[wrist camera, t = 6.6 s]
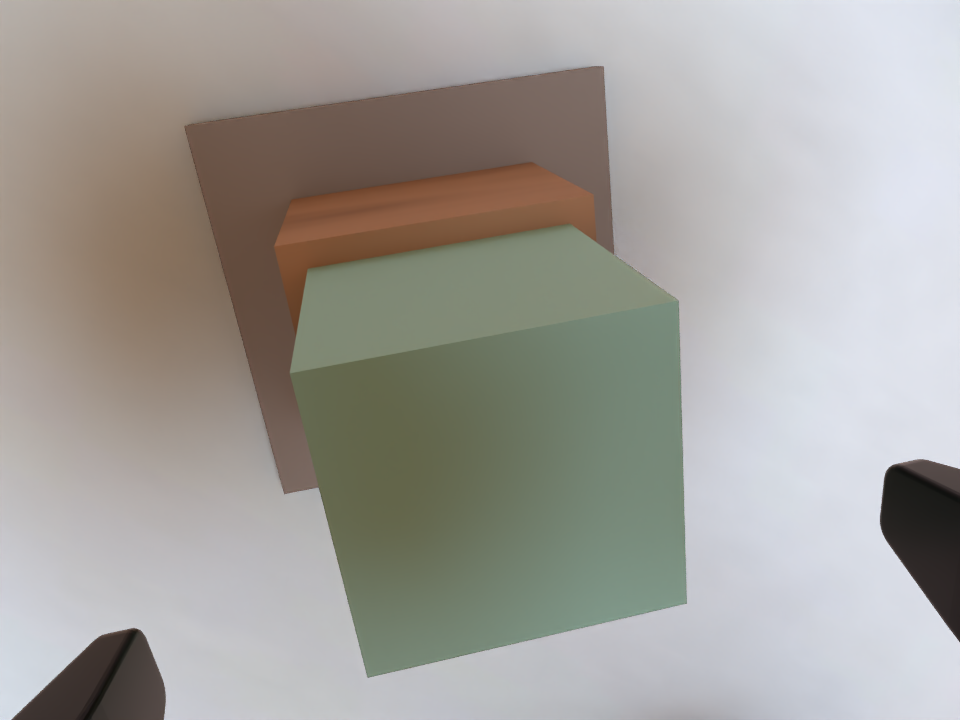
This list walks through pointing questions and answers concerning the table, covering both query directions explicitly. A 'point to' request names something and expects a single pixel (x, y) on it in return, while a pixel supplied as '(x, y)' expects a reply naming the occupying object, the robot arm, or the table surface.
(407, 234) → the walnut block
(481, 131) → the mat
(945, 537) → the robot arm
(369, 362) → the green cube
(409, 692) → the table surface
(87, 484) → the table surface
